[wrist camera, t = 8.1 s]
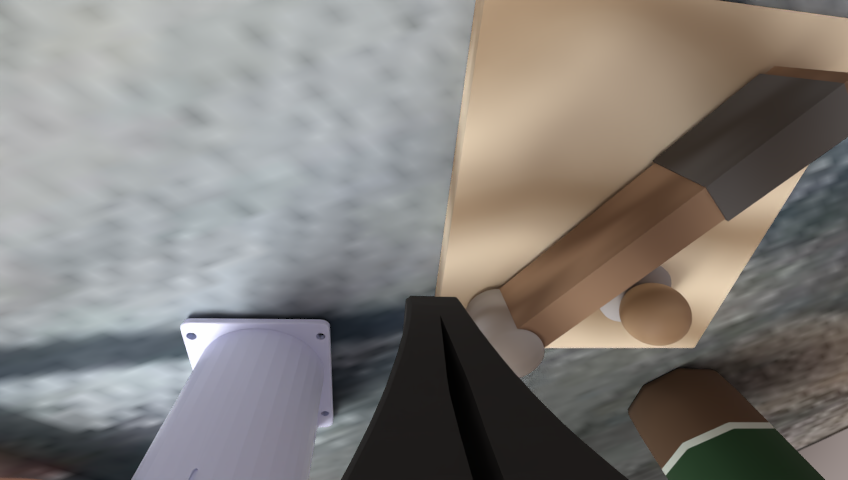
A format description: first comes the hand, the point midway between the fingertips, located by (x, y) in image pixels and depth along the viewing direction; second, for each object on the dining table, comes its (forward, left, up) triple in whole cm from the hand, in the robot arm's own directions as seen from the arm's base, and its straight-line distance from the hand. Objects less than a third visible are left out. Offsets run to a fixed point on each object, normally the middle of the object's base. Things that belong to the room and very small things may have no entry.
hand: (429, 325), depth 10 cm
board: (0, -10, -9) cm, 14 cm away
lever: (0, -10, -8) cm, 12 cm away
